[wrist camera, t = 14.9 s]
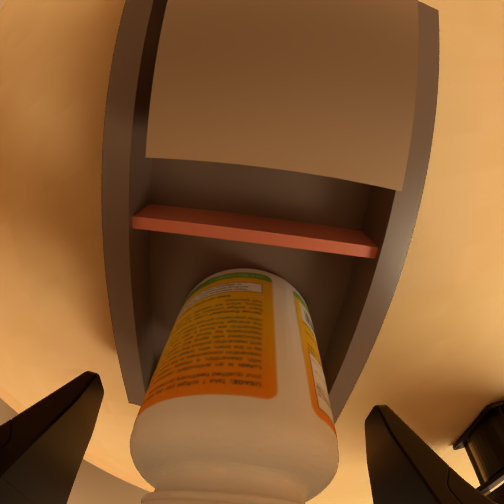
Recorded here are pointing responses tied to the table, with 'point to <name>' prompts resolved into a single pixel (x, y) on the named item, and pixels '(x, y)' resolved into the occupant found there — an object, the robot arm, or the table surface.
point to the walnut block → (288, 86)
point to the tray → (247, 222)
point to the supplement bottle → (237, 400)
